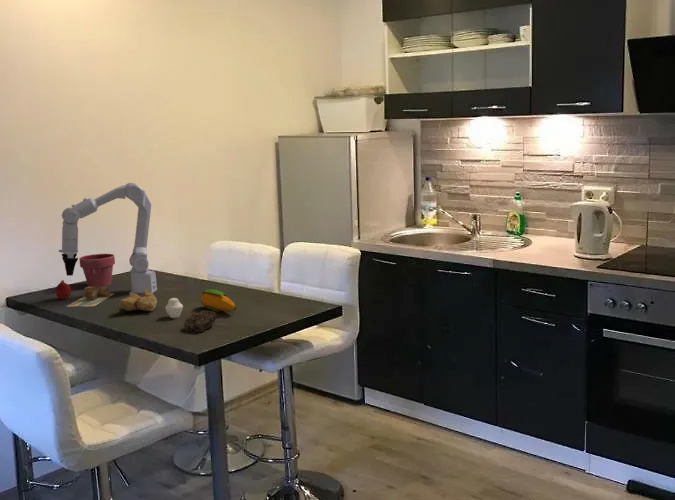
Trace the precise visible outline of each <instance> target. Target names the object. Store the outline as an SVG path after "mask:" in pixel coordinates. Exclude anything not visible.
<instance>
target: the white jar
mask: <svg viewBox="0 0 675 500" xmlns="http://www.w3.org/2000/svg"><path fill="white" fill-rule="evenodd" d="M179 300H180V299H178V298H176V297H172V298H171V297H170V299H168V303H167V304H166V306H165V307H164V308H165V312H166V313H167V314H168V316H169V318H171V319H177V318H179V317H180V316H181V314H182V311H183V308H184V305H183V304H182V303H181V301H179Z"/></svg>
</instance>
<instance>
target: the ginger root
mask: <svg viewBox="0 0 675 500" xmlns="http://www.w3.org/2000/svg"><path fill="white" fill-rule="evenodd" d="M142 294H143V296H140V295H139V294H138V293H133V294H129V295H128V296H127V297H125V298H123V299H120V300H119V304H118V307H119V308H120V309H122V310H124V311H126V312H132V311H143V312H153V311H154V310H155V308H156V306H157V304H158V300H157V297H156V296H155V294H154V292H153V293H151V292H150V290H147V289H144V293H142Z"/></svg>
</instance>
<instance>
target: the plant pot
mask: <svg viewBox="0 0 675 500" xmlns="http://www.w3.org/2000/svg"><path fill="white" fill-rule="evenodd" d="M115 264H116V260H115V255H114V253H113V254H112V253H96V254H89V255H83V256H79V267H80V268H82V271H83V274H84V278H85V281H86V284H87V287H109V286H110V285H111V284H112V278H113V272H114V271H113V270H114V265H115Z"/></svg>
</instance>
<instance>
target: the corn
mask: <svg viewBox="0 0 675 500" xmlns="http://www.w3.org/2000/svg"><path fill="white" fill-rule="evenodd" d="M200 300H201V301H200V303H201V304H202V305H203V307H205V308H206V309H208V310H209V311H210V310H211V311H214V312H218V313H220V311H223V312H226V311H227V310H228V312H234V311H236V310H237V307H236V305H235V303H234V301H232V299H230V298H229V297H228V296H227V295H226V294H225V293H224V292H222V291H221V290H218V289H212V288H211V289H206V290H204V291H203V292H202V293H201V297H200Z"/></svg>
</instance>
